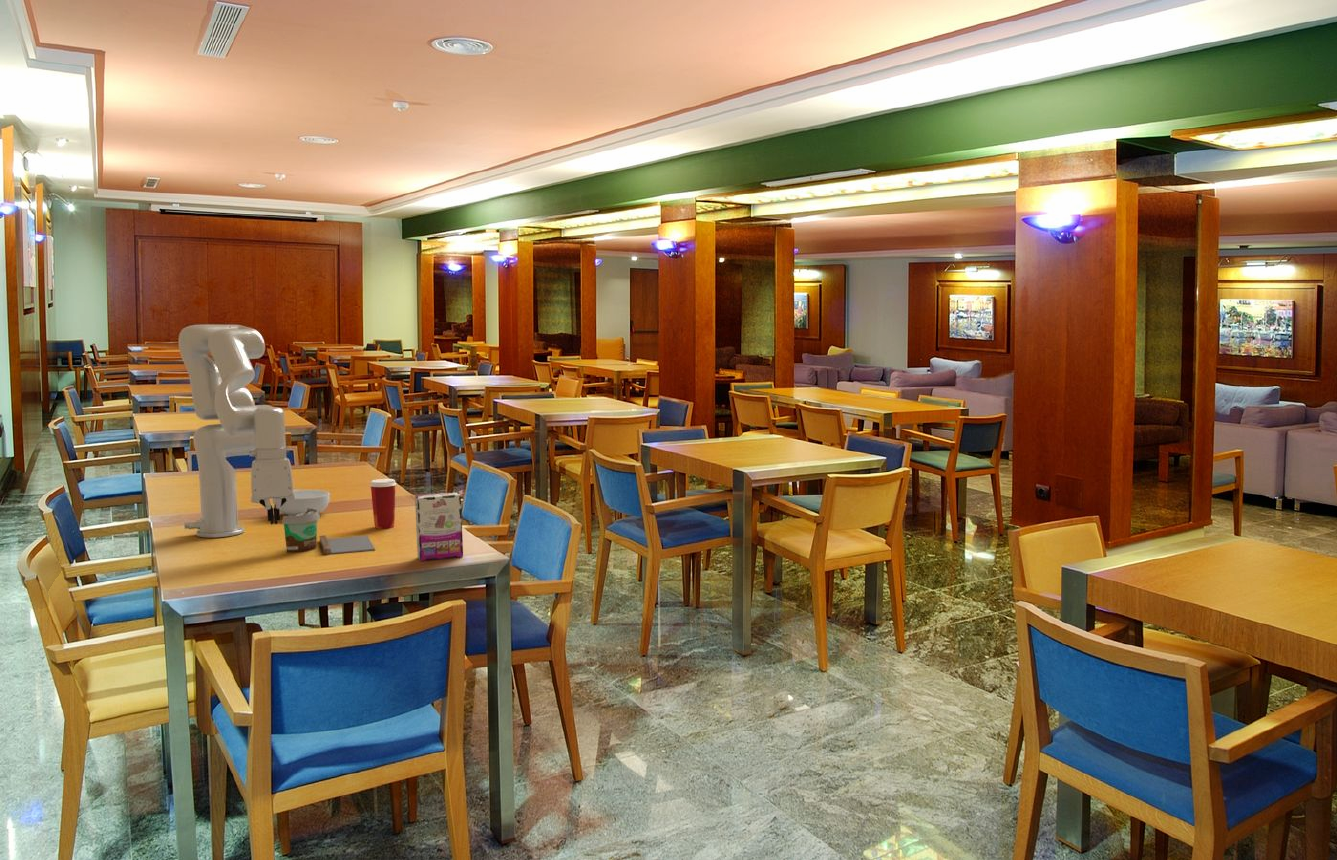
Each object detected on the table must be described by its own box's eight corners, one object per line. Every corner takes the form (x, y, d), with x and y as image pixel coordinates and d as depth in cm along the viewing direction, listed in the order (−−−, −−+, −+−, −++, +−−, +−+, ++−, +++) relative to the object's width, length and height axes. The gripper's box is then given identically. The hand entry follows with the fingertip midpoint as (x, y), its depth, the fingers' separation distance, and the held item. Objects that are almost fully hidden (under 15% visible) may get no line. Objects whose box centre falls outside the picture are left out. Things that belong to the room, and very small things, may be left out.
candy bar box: (459, 553, 256) (458, 491, 254) (463, 557, 252) (462, 494, 250) (416, 557, 252) (414, 494, 250) (419, 561, 247) (417, 497, 245)
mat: (331, 554, 255) (331, 552, 255) (326, 540, 272) (326, 539, 272) (374, 550, 260) (374, 548, 260) (367, 537, 276) (367, 535, 276)
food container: (304, 554, 255) (303, 517, 254) (283, 553, 256) (281, 516, 255) (330, 544, 267) (328, 508, 266) (309, 543, 268) (308, 507, 267)
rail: (324, 554, 255) (324, 549, 255) (319, 541, 271) (319, 535, 271) (330, 554, 255) (330, 548, 255) (325, 540, 272) (325, 535, 272)
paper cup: (403, 525, 292) (401, 479, 291) (385, 530, 285) (384, 483, 284) (382, 523, 296) (381, 477, 294) (365, 528, 289) (363, 481, 287)
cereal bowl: (284, 523, 297) (283, 500, 296) (265, 515, 309) (264, 493, 309) (338, 515, 308) (338, 493, 307) (318, 508, 320) (317, 487, 320)
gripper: (239, 457, 249) (243, 528, 251) (301, 454, 255) (304, 523, 257) (239, 454, 256) (243, 523, 258) (300, 451, 262) (303, 518, 264)
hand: (274, 523), depth 258 cm, fingers closed
